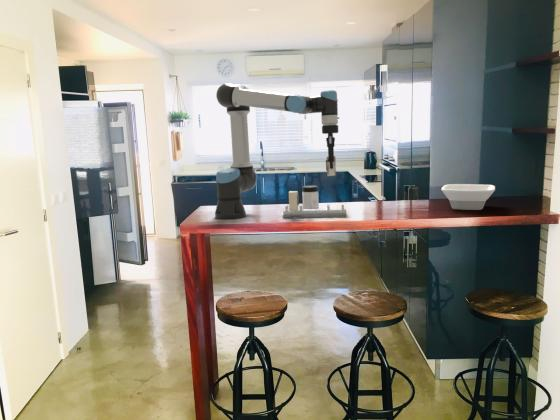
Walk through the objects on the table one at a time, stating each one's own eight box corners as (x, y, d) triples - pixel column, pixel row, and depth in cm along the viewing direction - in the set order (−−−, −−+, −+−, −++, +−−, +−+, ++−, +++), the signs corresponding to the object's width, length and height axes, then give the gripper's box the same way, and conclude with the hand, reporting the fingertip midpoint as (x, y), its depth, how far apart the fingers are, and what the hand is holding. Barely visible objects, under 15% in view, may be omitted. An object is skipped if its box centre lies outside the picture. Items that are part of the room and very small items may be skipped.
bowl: (494, 204, 234) (495, 184, 233) (494, 212, 212) (495, 190, 210) (444, 203, 245) (444, 183, 243) (439, 210, 222) (439, 189, 220)
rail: (282, 218, 219) (281, 193, 217) (284, 214, 227) (283, 190, 225) (346, 217, 215) (346, 191, 213) (346, 213, 224) (345, 189, 222)
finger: (326, 176, 215) (325, 156, 214) (326, 175, 219) (325, 156, 218) (335, 175, 215) (335, 156, 213) (336, 175, 218) (335, 156, 217)
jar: (308, 211, 236) (307, 187, 234) (299, 209, 243) (298, 186, 241) (322, 208, 241) (321, 186, 239) (312, 207, 247) (312, 185, 245)
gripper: (338, 124, 204) (339, 176, 208) (338, 124, 221) (339, 173, 225) (321, 125, 205) (323, 177, 209) (322, 125, 222) (324, 174, 226)
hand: (331, 175), depth 217 cm, fingers closed on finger, 4 cm apart
